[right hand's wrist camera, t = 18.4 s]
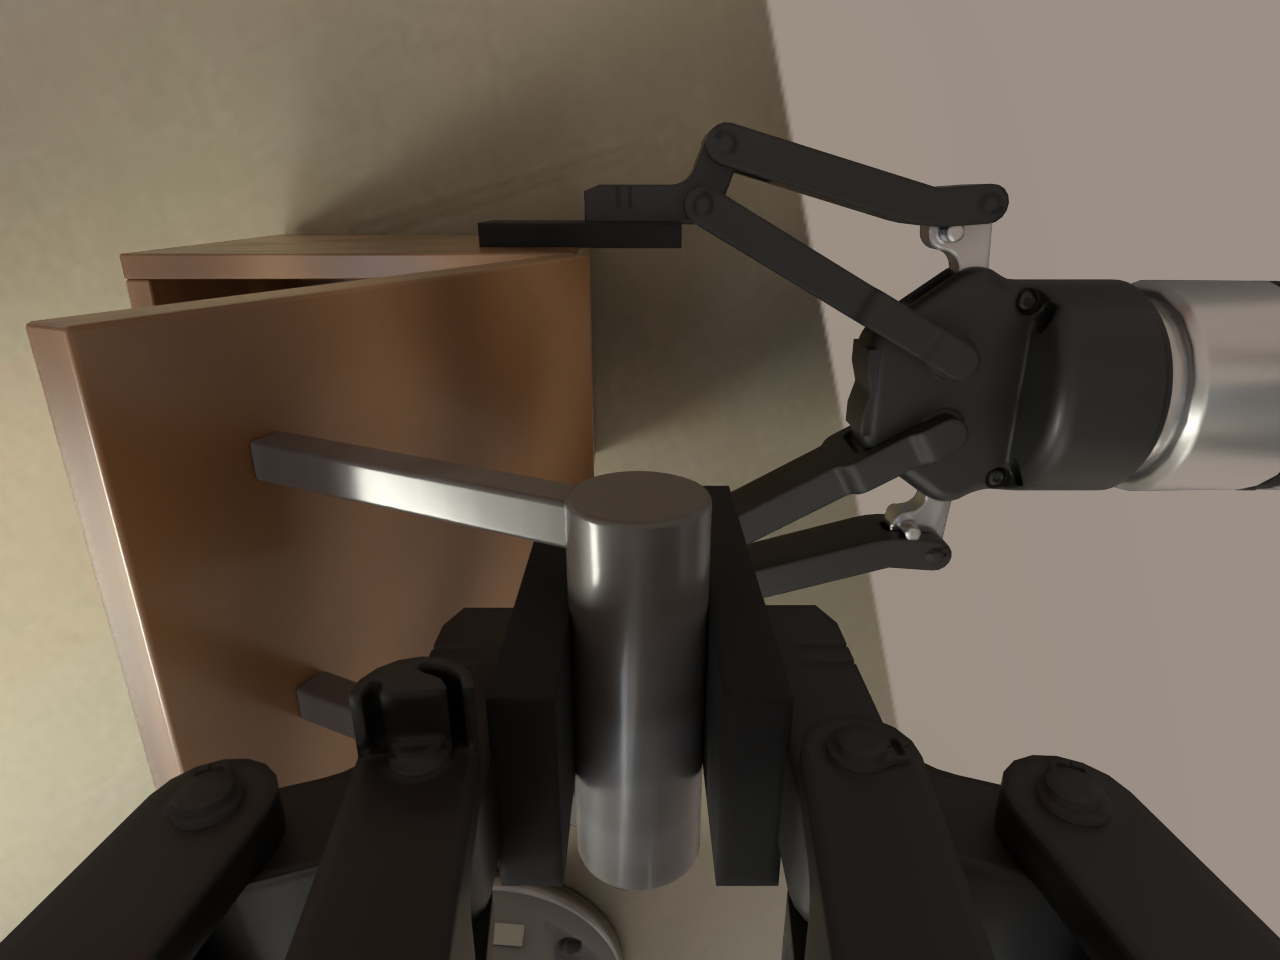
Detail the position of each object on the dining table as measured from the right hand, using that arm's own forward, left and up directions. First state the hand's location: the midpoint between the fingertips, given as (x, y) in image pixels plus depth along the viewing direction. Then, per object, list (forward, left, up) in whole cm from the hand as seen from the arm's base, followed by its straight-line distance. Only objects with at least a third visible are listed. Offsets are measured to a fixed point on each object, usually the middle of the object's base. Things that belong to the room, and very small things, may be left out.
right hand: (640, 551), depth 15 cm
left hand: (-1, +5, -14) cm, 15 cm away
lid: (-2, +5, -3) cm, 6 cm away
